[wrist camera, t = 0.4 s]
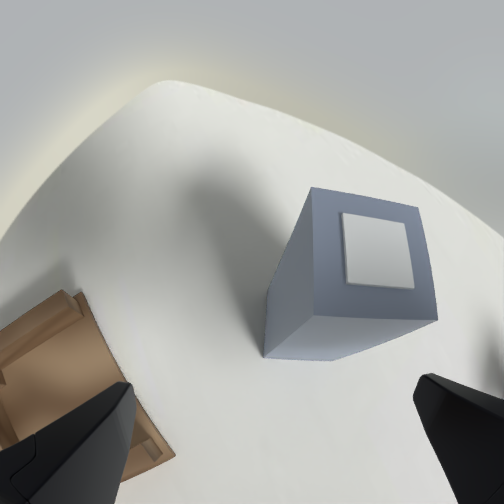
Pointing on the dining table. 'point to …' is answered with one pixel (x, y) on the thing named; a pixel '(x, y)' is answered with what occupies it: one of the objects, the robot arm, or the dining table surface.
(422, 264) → the grey tall block
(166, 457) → the pocket
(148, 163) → the dining table surface
